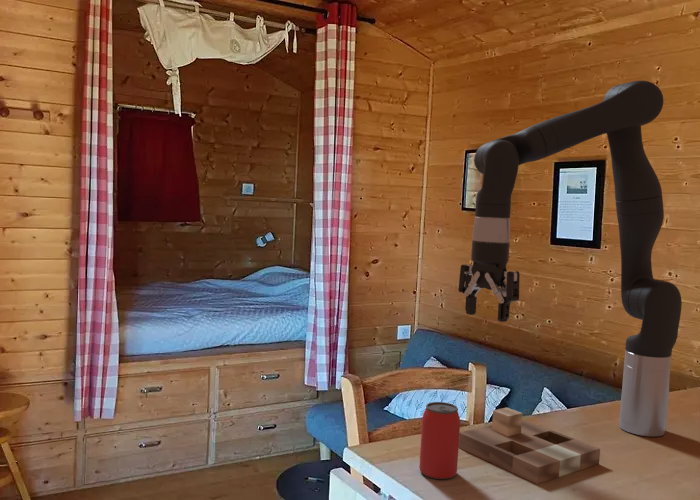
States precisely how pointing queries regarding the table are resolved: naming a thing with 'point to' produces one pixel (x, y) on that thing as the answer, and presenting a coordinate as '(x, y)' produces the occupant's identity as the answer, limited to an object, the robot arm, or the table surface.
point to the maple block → (507, 421)
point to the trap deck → (531, 451)
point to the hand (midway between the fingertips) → (486, 317)
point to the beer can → (439, 440)
